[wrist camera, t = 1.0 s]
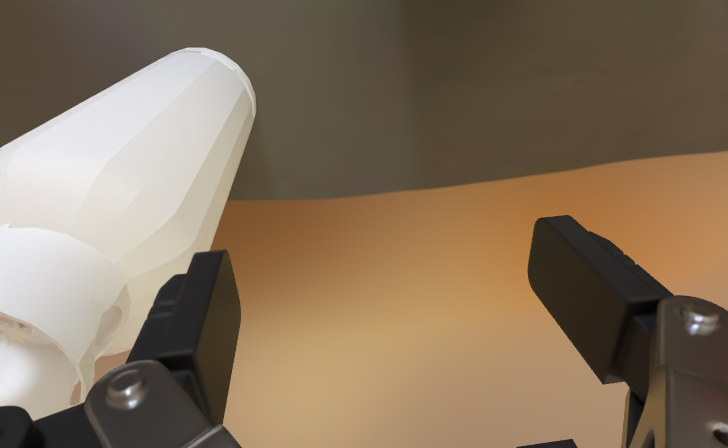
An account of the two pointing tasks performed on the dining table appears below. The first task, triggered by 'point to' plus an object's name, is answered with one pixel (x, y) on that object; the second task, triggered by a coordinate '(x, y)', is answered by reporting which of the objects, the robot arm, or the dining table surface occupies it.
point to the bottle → (110, 217)
